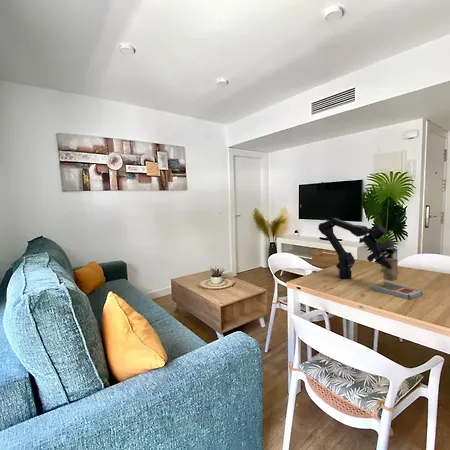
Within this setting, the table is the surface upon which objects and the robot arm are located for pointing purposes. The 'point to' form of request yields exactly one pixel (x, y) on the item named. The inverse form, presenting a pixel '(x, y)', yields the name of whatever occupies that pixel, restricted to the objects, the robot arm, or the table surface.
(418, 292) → the u-shaped frame
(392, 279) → the walnut block
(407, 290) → the rectangular frame
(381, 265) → the coffee box
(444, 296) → the table surface
